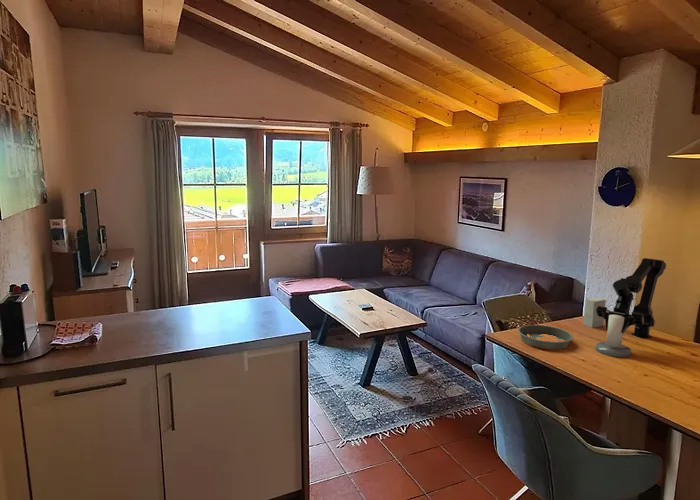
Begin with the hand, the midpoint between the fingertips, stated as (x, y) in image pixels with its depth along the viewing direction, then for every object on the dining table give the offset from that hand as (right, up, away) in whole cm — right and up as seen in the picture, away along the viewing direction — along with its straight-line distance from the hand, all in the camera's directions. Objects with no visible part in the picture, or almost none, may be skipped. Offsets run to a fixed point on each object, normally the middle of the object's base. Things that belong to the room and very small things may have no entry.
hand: (614, 330), depth 207 cm
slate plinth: (+1, -10, +3) cm, 10 cm away
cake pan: (-25, -8, +15) cm, 31 cm away
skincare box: (+11, -4, +39) cm, 41 cm away
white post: (+1, -6, +2) cm, 7 cm away
